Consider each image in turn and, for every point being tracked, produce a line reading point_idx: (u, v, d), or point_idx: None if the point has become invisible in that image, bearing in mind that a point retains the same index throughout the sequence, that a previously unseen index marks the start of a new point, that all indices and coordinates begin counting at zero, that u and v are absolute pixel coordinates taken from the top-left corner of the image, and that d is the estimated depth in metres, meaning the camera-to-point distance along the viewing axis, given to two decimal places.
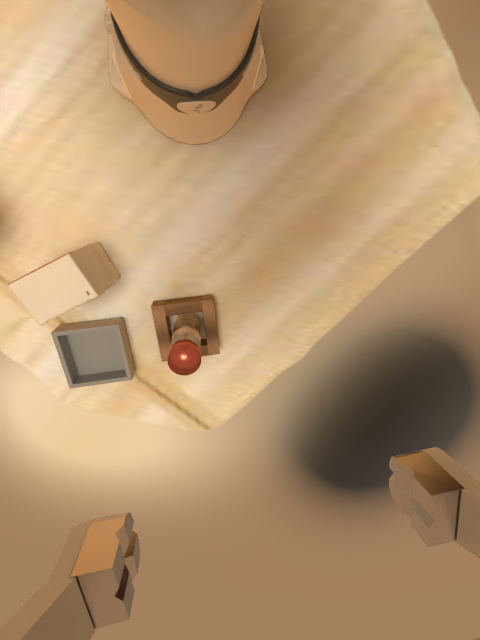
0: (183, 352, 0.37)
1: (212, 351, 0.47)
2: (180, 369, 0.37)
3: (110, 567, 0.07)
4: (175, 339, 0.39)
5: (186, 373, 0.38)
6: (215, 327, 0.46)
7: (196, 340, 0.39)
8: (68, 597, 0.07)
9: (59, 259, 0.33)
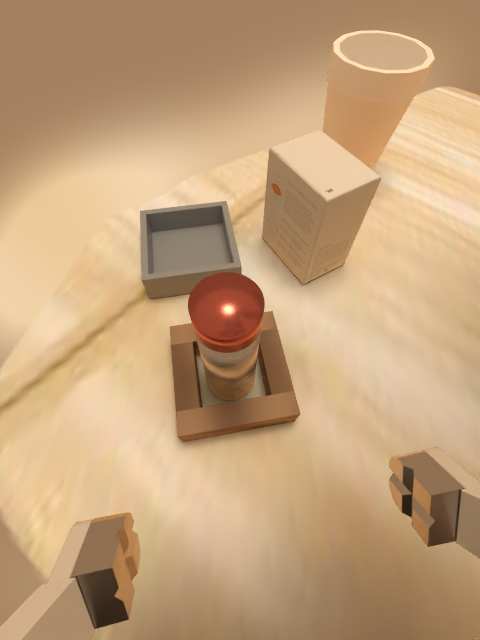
0: (247, 300, 0.16)
1: (184, 418, 0.22)
2: (204, 295, 0.16)
3: (110, 567, 0.07)
4: None
5: (192, 307, 0.16)
6: (239, 422, 0.22)
7: (251, 349, 0.18)
8: (68, 597, 0.07)
9: (370, 169, 0.24)
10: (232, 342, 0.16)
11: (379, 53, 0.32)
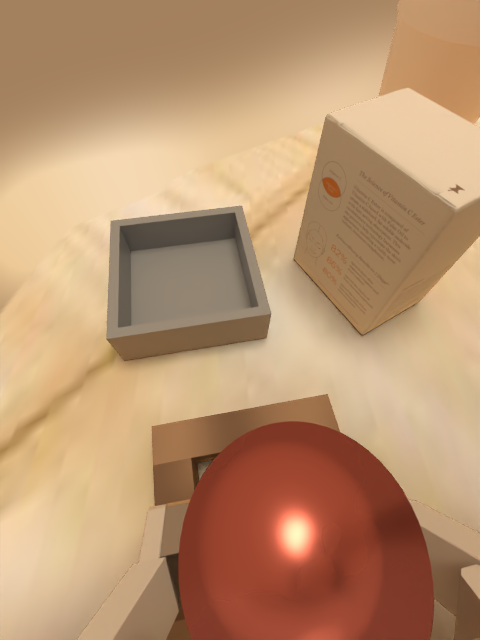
0: (372, 538, 0.05)
1: None
2: (229, 518, 0.05)
3: None
4: None
5: (193, 575, 0.05)
6: None
7: None
8: (161, 575, 0.07)
9: None
10: None
11: None
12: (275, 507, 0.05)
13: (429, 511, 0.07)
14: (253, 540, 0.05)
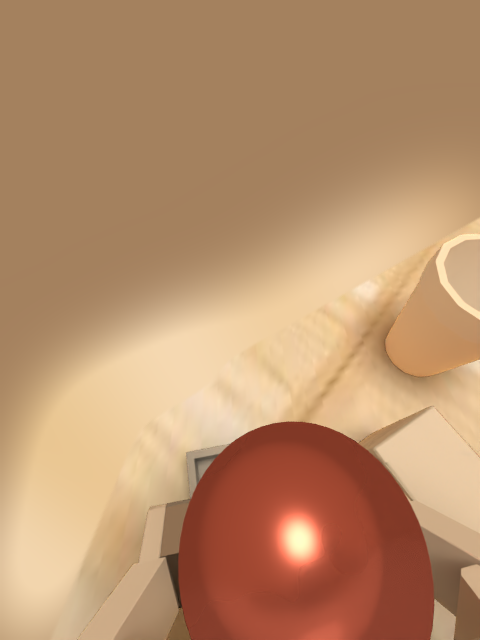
0: (372, 539, 0.05)
1: None
2: (229, 518, 0.05)
3: None
4: None
5: (193, 576, 0.05)
6: None
7: None
8: (161, 576, 0.07)
9: None
10: None
11: None
12: (275, 508, 0.05)
13: (429, 511, 0.07)
14: (253, 541, 0.05)
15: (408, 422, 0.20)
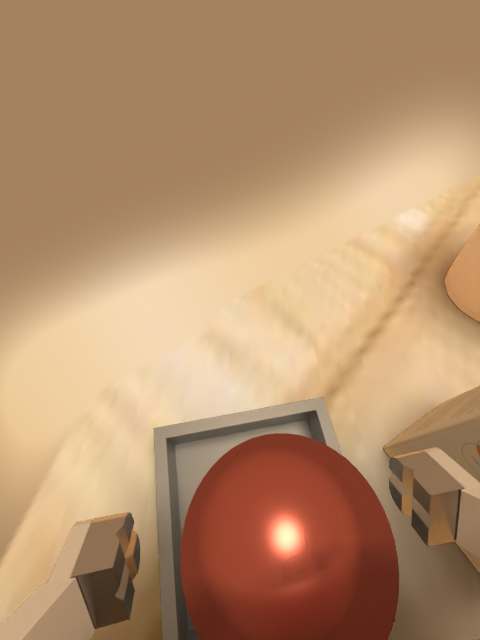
0: (347, 536, 0.06)
1: None
2: (224, 518, 0.06)
3: (110, 567, 0.07)
4: None
5: (193, 568, 0.05)
6: None
7: None
8: (68, 597, 0.07)
9: None
10: None
11: None
12: (264, 509, 0.06)
13: None
14: (244, 538, 0.06)
15: None
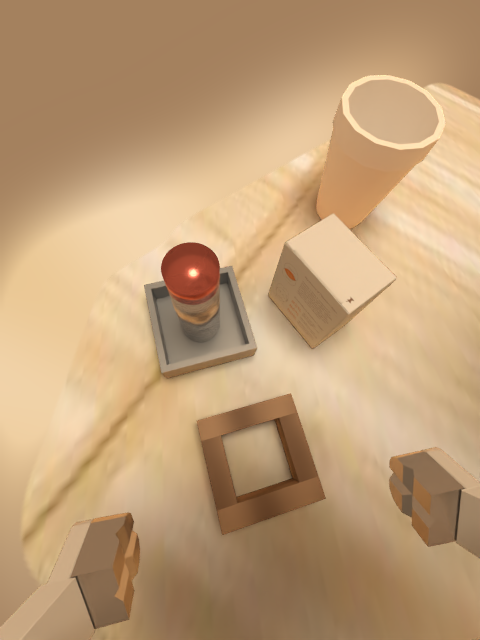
0: (206, 264, 0.21)
1: (225, 516, 0.25)
2: (172, 262, 0.21)
3: (110, 567, 0.07)
4: None
5: (164, 272, 0.21)
6: (274, 513, 0.25)
7: (213, 301, 0.23)
8: (68, 597, 0.07)
9: (386, 267, 0.24)
10: (197, 297, 0.21)
11: (386, 98, 0.30)
12: (184, 260, 0.21)
13: None
14: (178, 266, 0.21)
15: (313, 225, 0.26)
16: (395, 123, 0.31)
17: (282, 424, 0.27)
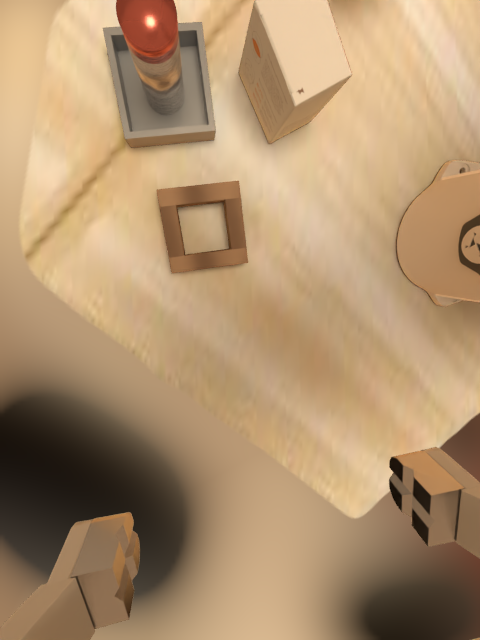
0: (163, 13, 0.21)
1: (174, 262, 0.35)
2: (128, 2, 0.20)
3: (110, 567, 0.07)
4: None
5: (120, 14, 0.20)
6: (210, 266, 0.35)
7: (172, 64, 0.24)
8: (68, 597, 0.07)
9: (346, 59, 0.25)
10: (154, 54, 0.22)
11: None
12: (140, 1, 0.20)
13: None
14: (134, 8, 0.20)
15: None
16: None
17: (226, 205, 0.34)
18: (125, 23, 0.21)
